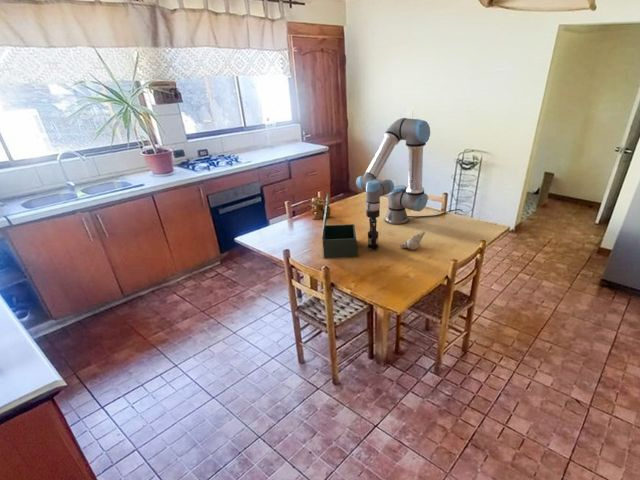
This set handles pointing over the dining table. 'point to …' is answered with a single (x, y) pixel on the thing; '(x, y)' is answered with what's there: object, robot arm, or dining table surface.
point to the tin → (371, 238)
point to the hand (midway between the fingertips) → (372, 246)
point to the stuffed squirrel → (320, 210)
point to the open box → (340, 241)
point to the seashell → (413, 242)
